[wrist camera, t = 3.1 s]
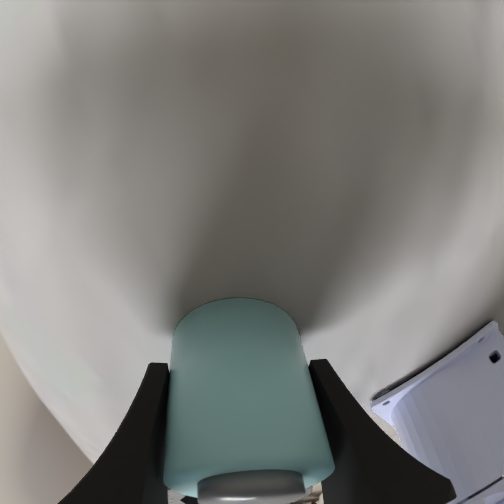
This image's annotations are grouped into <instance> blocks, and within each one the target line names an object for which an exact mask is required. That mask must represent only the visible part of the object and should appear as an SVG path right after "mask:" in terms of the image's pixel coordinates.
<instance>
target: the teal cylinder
mask: <svg viewBox="0 0 504 504" xmlns="http://www.w3.org/2000/svg"><path fill="white" fill-rule="evenodd" d="M334 469H335V465H334V461H333V457H332V453H331V449H330V445H329V442H328V438H327V434H326V430H325V427H324V423H323V419H322V415H321V412H320V408H319V404H318V401H317V397H316V393H315V390H314V386H313V382H312V379H311V375H310V372H309V368H308V364H307V361H306V357H305V354H304V350H303V347H302V343H301V340H300V336H299V333H298V329H297V327H296V324H295V322H294V321H293V319H292V318H291V317H290V316H289V314H287V313H286V312H285V311H284V310H282V309H281V308H279V307H277V306H275V305H273V304H271V303H268V302H265V301H262V300H257V299H251V298H228V299H221V300H217V301H213V302H210V303H207V304H204V305H202V306H200V307H198V308H196V309H194V310H192V311H191V312H190V313H188V314H187V315H186V316H185V317H184V318H183V319H182V320H181V321H180V322H179V324H178V325H177V327H176V329H175V331H174V335H173V341H172V351H171V361H170V372H169V384H168V396H167V410H166V426H165V446H164V473H163V481H164V484H165V485H166V486H167V487H168V488H169V489H171V490H173V491H175V492H178V493H180V494H184V495H187V496H191V497H196V498H197V499H198V503H199V504H285V503H289V502H292V501H295V500H297V499H299V498H301V497H303V496H304V495H305V494H306V491H305V488H308V487H310V486H312V485H315V484H317V483H319V482H321V481H322V480H324V479H326V478H327V477H328V476H330V475H331V474H332V473H333V471H334Z"/></svg>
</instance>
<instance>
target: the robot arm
mask: <svg viewBox="0 0 504 504" xmlns="http://www.w3.org/2000/svg"><path fill="white" fill-rule="evenodd" d="M308 368H309V372H310V375H311V379H312V382H313V386H314V390H315V393H316V397H317V401H318V404H319V408H320V412H321V415H322V419H323V423H324V427H325V430H326V434H327V438H328V442H329V445H330V449H331V453H332V457H333V461H334V465H335V469H334V471H333V473H332V474H331V475H330V476H328V477H327V478H326V479H324V480H322V481H321V484H322V492H323V499H324V504H504V477H502V475H504V336H503V335H502V334H501V332H500V331H499V327H498V323H497V322H496V321H491V322H490V323H489V324H487V325H486V326H485V327H484V328H482V329H481V330H480V331H479V332H477V333H476V334H475V335H474V336H472V337H471V338H470V339H468V340H467V341H466V342H464V343H463V344H462V345H460V346H459V347H458V348H456V349H455V350H454V351H452V352H451V353H449V354H448V355H447V356H445V357H444V358H442V359H441V360H439V361H438V362H436V363H435V364H434V365H432V366H431V367H429V368H428V369H426V370H424V371H423V372H421V373H420V374H418V375H417V376H415V377H413V378H412V379H410V380H409V381H407V382H405V383H404V384H402V385H400V386H399V387H397V388H395V389H394V390H392V391H390V392H388V393H387V394H385V395H383V396H381V397H380V398H378V399H376V400H374V401H373V402H372V403H371V404H370V406H371V409H372V411H374V412H375V413H376V414H378V415H379V416H380V417H381V418H383V419H384V420H385V421H387V422H388V423H389V424H390V425H392V426H393V427H394V428H395V429H396V432H397V435H398V437H399V440H400V442H401V445H402V447H403V448H401V447H400V446H399V445H398V444H397V443H395V442H394V441H393V440H392V439H391V438H390V437H389V436H388V435H387V434H386V433H385V432H384V431H383V430H382V429H381V428H380V427H379V426H378V425H377V424H376V423H375V422H374V421H373V420H372V419H371V417H370V416H369V415H368V414H367V413H366V412H365V411H364V409H363V408H362V407H361V406H360V404H359V403H358V402H357V401H356V399H355V398H354V397H353V396H352V394H351V393H350V392H349V390H348V389H347V388H346V386H345V385H344V383H343V382H342V381H341V379H340V378H339V376H338V375H337V374H336V372H335V371H334V369H333V368H332V366H331V365H330V363H329V362H328V360H327V359H318V360H311V361H310V364H309V367H308ZM168 384H169V369H168V364H167V363H150V364H149V365H148V368H147V370H146V373H145V376H144V378H143V381H142V383H141V385H140V387H139V390H138V392H137V394H136V396H135V398H134V400H133V402H132V404H131V406H130V408H129V410H128V412H127V414H126V416H125V418H124V419H123V421H122V423H121V425H120V426H119V428H118V430H117V432H116V433H115V435H114V437H113V438H112V440H111V441H110V443H109V444H108V446H107V447H106V449H105V450H104V452H103V453H102V455H101V456H100V457H99V459H98V460H97V461H96V463H95V464H94V465H93V467H92V468H91V469H90V471H89V472H88V473H87V474H86V475H85V476H84V477H83V478H82V480H81V481H80V482H79V483H78V484H77V485H76V486H75V487H74V488H73V489H72V491H71V492H70V493H69V494H67V495H66V496H65V497H64V498H63V499H62V500H61V501H60V502H59V503H58V504H168V487H167V486H166V485H165V484H164V481H163V473H164V446H165V426H166V410H167V396H168Z"/></svg>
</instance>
